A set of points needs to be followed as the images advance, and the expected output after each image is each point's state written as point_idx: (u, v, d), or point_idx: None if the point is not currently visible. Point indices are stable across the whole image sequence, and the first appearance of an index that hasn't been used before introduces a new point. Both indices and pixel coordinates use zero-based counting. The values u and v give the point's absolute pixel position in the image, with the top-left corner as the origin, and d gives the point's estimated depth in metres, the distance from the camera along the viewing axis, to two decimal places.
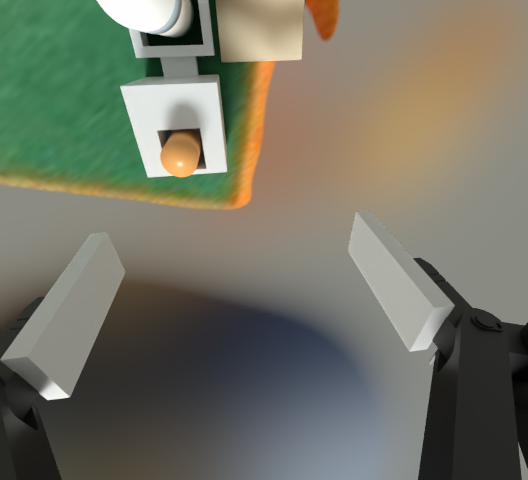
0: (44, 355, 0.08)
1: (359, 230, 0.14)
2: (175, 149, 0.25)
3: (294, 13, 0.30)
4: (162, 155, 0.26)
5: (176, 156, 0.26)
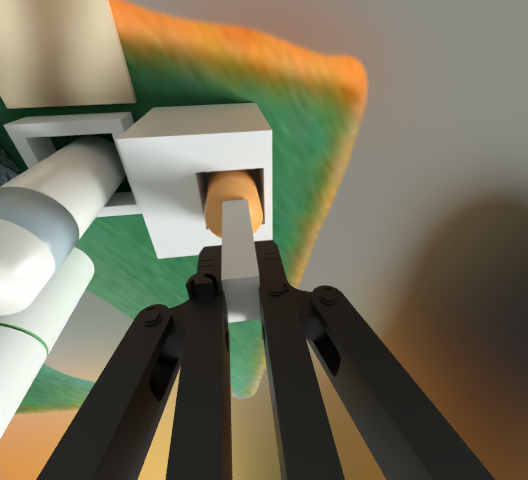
0: None
1: None
2: (217, 220, 0.16)
3: None
4: None
5: None
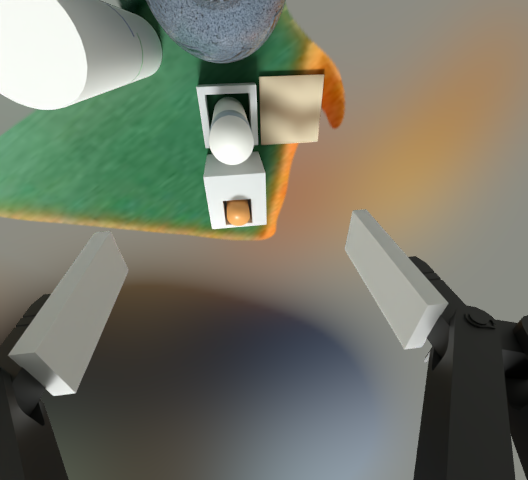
0: (51, 351, 0.08)
1: (355, 229, 0.14)
2: (237, 210, 0.40)
3: (313, 114, 0.43)
4: (228, 213, 0.40)
5: (237, 214, 0.40)
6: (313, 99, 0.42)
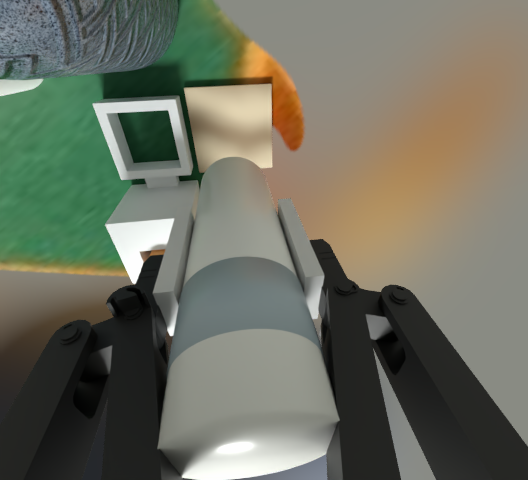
0: (178, 294, 0.10)
1: (280, 216, 0.15)
2: None
3: (263, 134, 0.33)
4: None
5: None
6: (260, 116, 0.32)
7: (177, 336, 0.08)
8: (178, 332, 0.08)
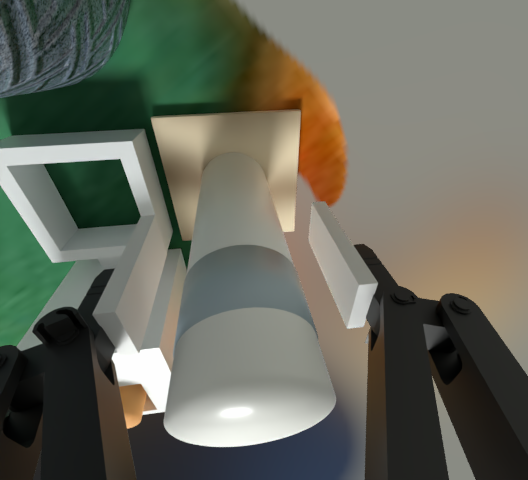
0: (124, 313, 0.10)
1: (314, 220, 0.15)
2: None
3: (282, 187, 0.21)
4: None
5: None
6: (279, 160, 0.20)
7: (183, 316, 0.09)
8: (183, 313, 0.09)
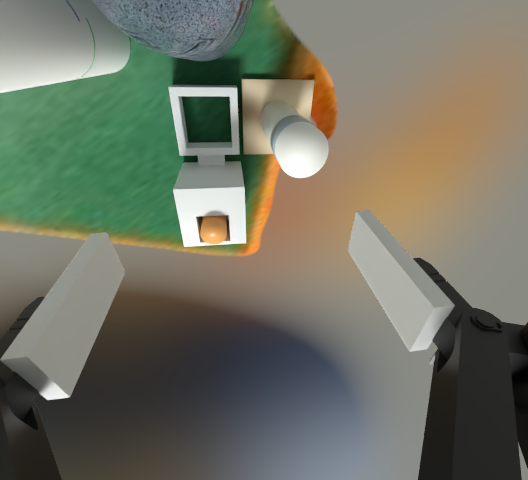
0: (44, 355, 0.08)
1: (359, 230, 0.14)
2: (211, 227, 0.35)
3: None
4: (202, 231, 0.35)
5: (212, 231, 0.36)
6: (301, 107, 0.38)
7: (278, 130, 0.26)
8: (279, 129, 0.26)
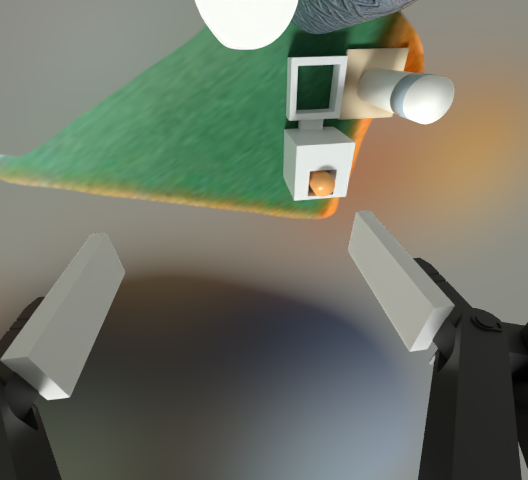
0: (44, 355, 0.08)
1: (359, 230, 0.14)
2: (324, 180, 0.41)
3: None
4: (315, 183, 0.41)
5: (323, 184, 0.41)
6: None
7: (407, 84, 0.32)
8: (407, 84, 0.32)
